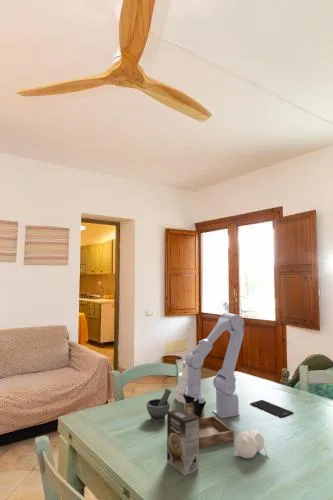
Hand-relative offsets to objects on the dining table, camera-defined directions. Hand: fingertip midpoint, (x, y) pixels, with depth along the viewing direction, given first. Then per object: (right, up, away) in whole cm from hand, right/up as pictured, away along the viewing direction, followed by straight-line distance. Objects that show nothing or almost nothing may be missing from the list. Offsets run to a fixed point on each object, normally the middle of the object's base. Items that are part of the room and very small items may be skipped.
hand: (194, 414), depth 138 cm
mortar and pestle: (-15, -2, -1) cm, 15 cm away
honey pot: (-1, -4, +23) cm, 23 cm away
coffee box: (-7, +1, -35) cm, 36 cm away
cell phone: (+37, -4, +11) cm, 38 cm away
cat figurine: (+17, 0, -29) cm, 33 cm away
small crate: (0, -2, 0) cm, 2 cm away
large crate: (+4, 0, -15) cm, 15 cm away
